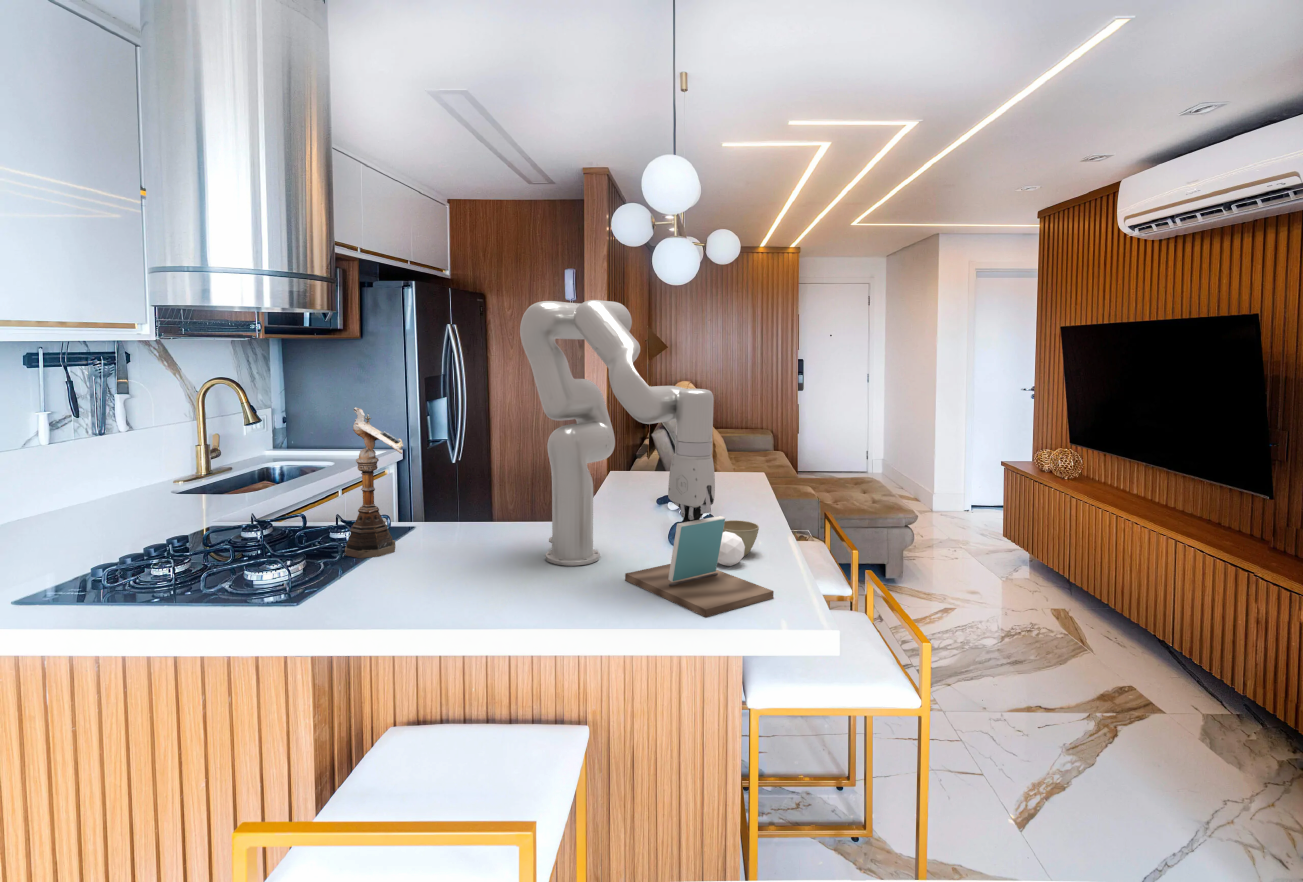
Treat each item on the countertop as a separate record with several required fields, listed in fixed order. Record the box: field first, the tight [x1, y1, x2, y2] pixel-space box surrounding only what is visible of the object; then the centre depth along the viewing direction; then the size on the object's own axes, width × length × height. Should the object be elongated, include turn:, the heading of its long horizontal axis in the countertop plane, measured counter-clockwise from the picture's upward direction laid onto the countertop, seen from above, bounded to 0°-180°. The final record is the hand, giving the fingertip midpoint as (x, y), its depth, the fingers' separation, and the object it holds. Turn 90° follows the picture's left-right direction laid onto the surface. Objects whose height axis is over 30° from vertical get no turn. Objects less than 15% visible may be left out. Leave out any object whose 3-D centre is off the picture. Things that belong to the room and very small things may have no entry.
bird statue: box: [344, 407, 404, 559], centre depth 173 cm, size 17×13×35 cm
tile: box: [668, 515, 726, 582], centre depth 149 cm, size 12×12×1 cm
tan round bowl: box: [723, 519, 760, 557], centre depth 176 cm, size 10×10×7 cm
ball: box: [717, 531, 745, 567], centre depth 167 cm, size 8×8×8 cm
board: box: [624, 563, 775, 618], centre depth 150 cm, size 26×18×2 cm
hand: (690, 536), depth 150 cm, fingers closed
